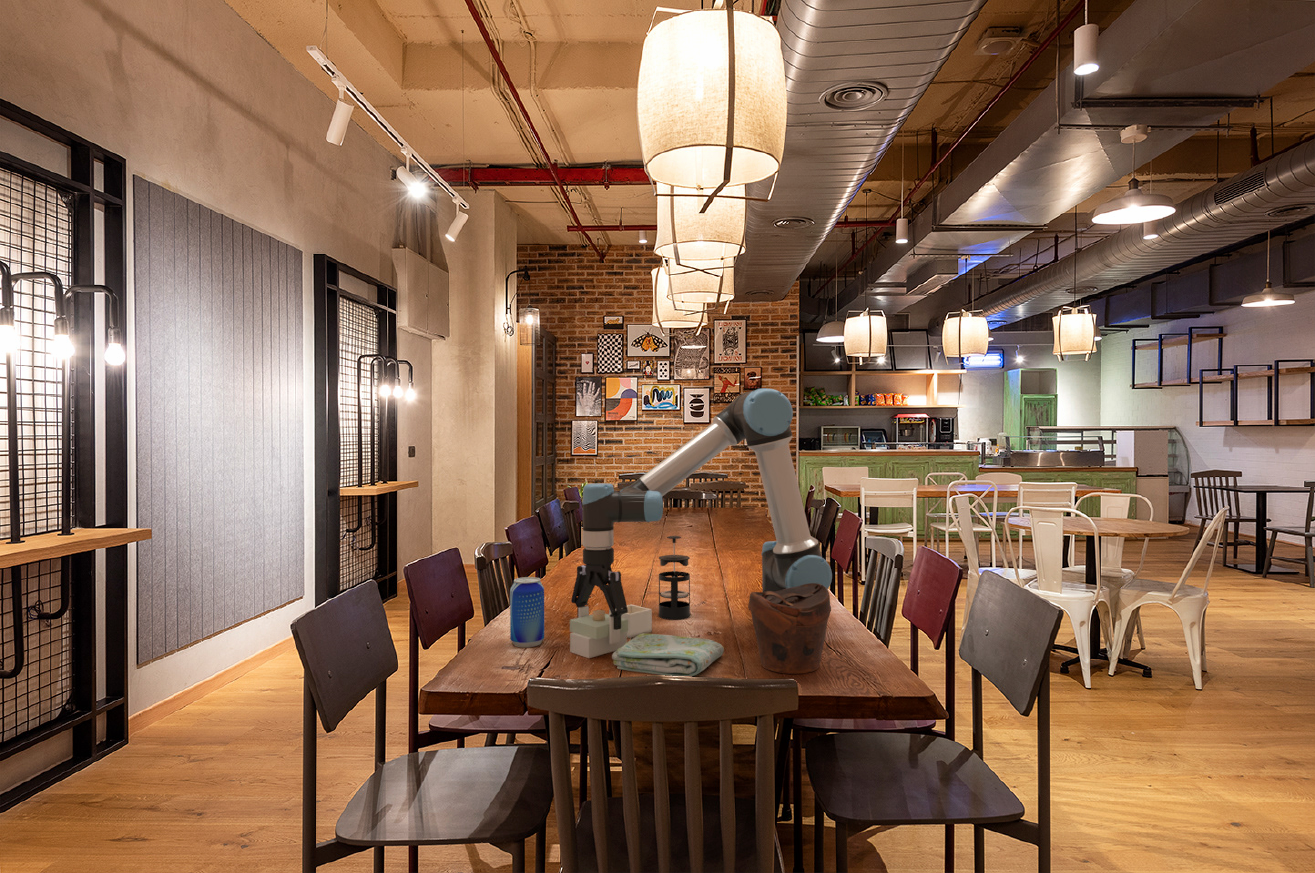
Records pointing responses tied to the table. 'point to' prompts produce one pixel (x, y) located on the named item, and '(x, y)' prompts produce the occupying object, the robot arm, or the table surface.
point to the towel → (667, 654)
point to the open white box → (637, 620)
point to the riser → (594, 645)
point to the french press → (674, 588)
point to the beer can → (527, 612)
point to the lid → (595, 625)
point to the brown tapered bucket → (791, 627)
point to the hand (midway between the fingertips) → (598, 637)
